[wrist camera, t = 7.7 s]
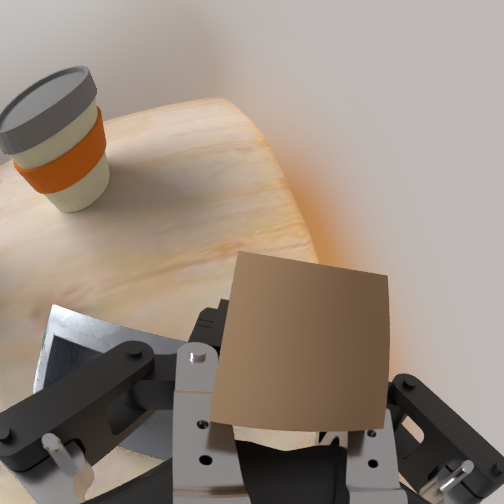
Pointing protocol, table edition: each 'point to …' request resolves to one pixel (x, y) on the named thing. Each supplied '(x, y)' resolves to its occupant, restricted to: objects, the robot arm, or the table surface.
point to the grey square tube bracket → (90, 347)
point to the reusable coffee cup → (58, 138)
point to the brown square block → (303, 348)
